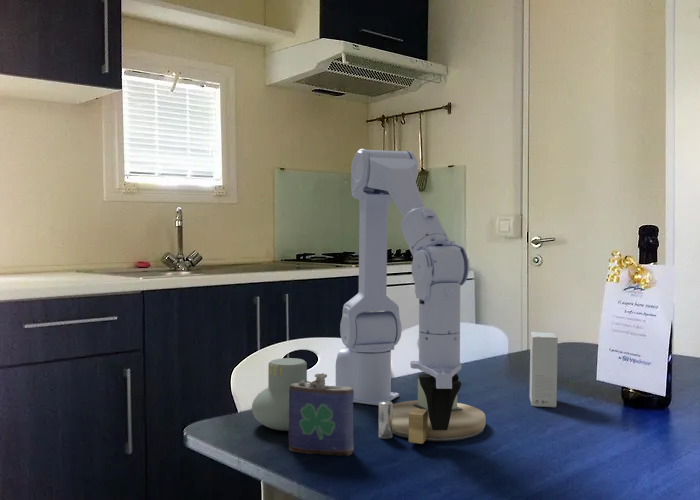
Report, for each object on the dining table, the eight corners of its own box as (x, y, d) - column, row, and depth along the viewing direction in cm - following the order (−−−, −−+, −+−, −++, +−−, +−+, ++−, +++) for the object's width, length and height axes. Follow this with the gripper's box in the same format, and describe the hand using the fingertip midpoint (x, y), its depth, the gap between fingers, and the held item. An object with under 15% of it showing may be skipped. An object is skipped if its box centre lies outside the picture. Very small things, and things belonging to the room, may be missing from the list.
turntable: (360, 414, 106) (360, 389, 106) (446, 403, 114) (447, 379, 113) (413, 445, 92) (414, 416, 91) (509, 429, 99) (509, 402, 99)
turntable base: (361, 435, 98) (361, 401, 98) (403, 406, 113) (403, 377, 113) (464, 451, 91) (464, 414, 91) (494, 418, 106) (495, 387, 106)
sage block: (417, 404, 107) (417, 377, 107) (441, 401, 109) (441, 374, 109) (433, 411, 103) (433, 382, 103) (457, 408, 105) (457, 380, 105)
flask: (355, 450, 91) (355, 373, 91) (349, 458, 88) (349, 377, 88) (292, 445, 94) (291, 369, 93) (284, 451, 91) (284, 373, 90)
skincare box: (557, 408, 113) (558, 337, 112) (531, 406, 114) (532, 336, 113) (553, 399, 119) (554, 332, 118) (529, 397, 119) (529, 331, 119)
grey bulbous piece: (297, 413, 109) (297, 353, 109) (332, 424, 103) (331, 360, 103) (242, 427, 102) (242, 362, 101) (276, 440, 96) (276, 371, 95)
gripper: (408, 323, 101) (408, 412, 101) (413, 340, 86) (413, 444, 87) (455, 323, 100) (454, 413, 101) (468, 340, 86) (467, 444, 86)
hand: (439, 427), depth 94 cm, fingers closed
